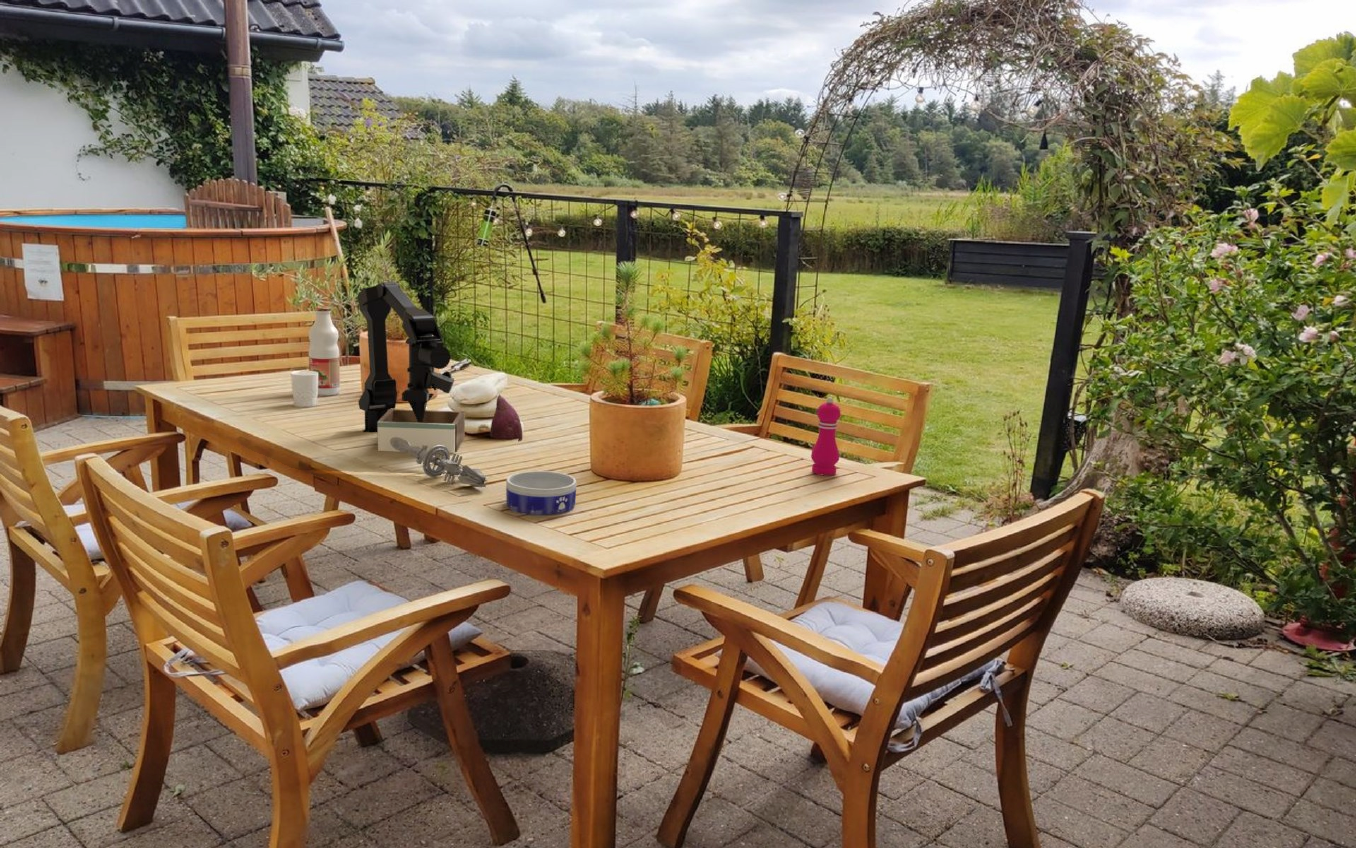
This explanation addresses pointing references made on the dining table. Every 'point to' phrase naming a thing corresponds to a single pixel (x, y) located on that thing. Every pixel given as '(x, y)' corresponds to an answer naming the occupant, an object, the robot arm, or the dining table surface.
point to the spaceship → (441, 463)
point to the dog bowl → (540, 492)
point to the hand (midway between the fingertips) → (420, 422)
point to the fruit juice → (325, 352)
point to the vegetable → (505, 422)
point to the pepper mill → (826, 439)
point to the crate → (430, 420)
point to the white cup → (305, 388)
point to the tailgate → (416, 435)
